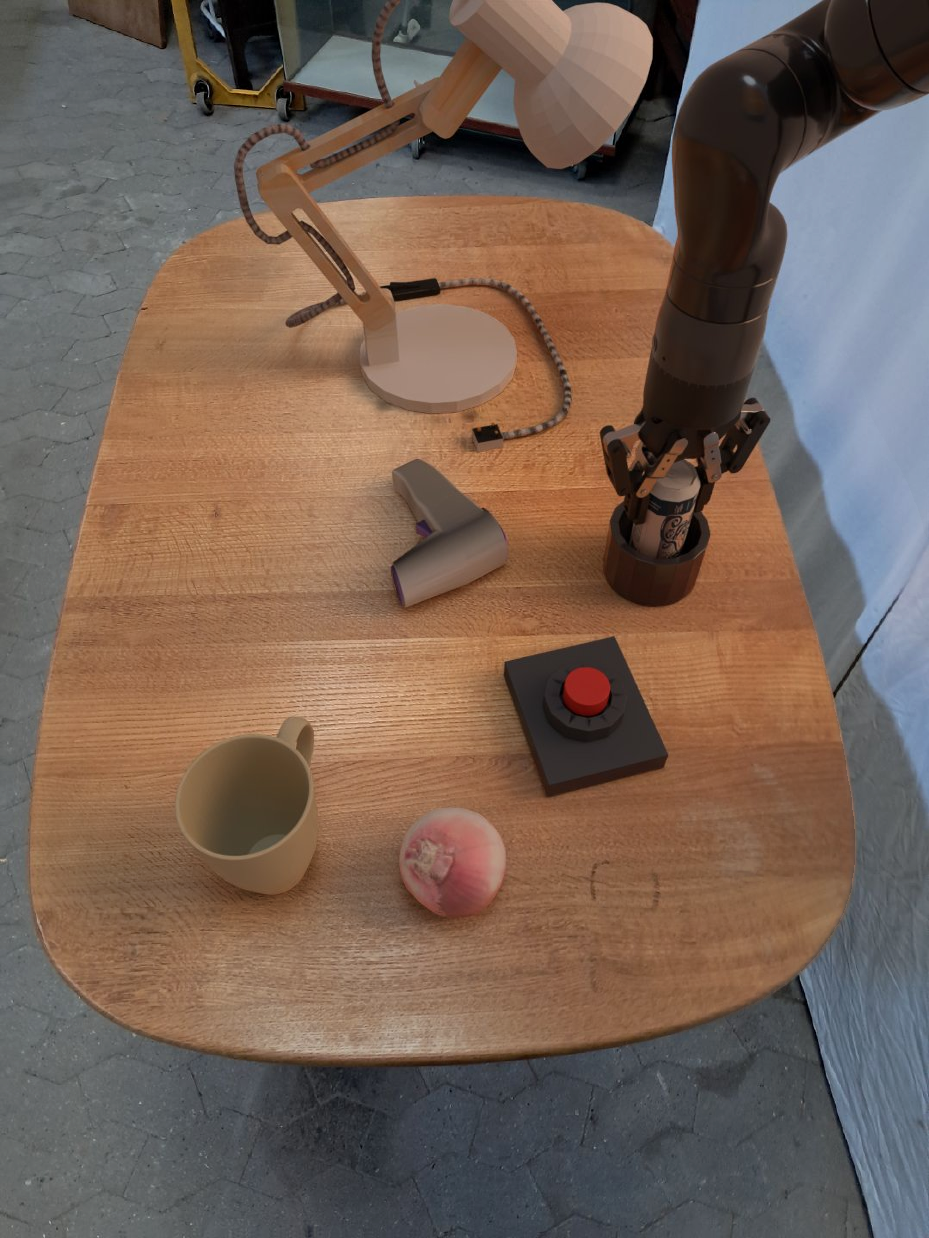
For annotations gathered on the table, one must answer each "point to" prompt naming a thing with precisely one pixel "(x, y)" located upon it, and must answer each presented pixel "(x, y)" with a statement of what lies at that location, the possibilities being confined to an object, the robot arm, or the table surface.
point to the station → (583, 719)
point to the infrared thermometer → (443, 536)
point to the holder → (652, 563)
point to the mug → (253, 808)
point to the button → (586, 691)
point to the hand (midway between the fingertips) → (664, 510)
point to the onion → (453, 861)
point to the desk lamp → (545, 112)
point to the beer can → (668, 513)
